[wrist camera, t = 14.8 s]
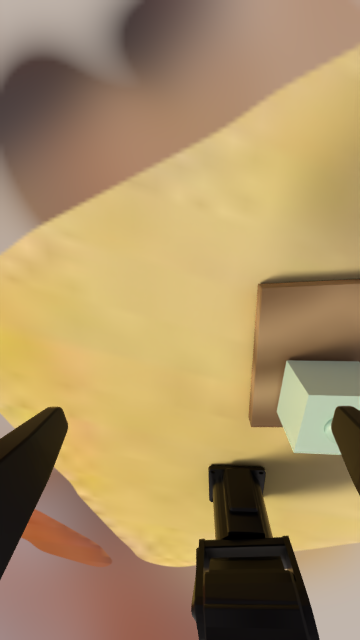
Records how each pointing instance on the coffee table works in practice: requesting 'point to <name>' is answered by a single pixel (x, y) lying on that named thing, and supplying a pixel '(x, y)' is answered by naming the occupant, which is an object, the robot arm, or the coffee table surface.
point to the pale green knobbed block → (316, 402)
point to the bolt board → (299, 335)
